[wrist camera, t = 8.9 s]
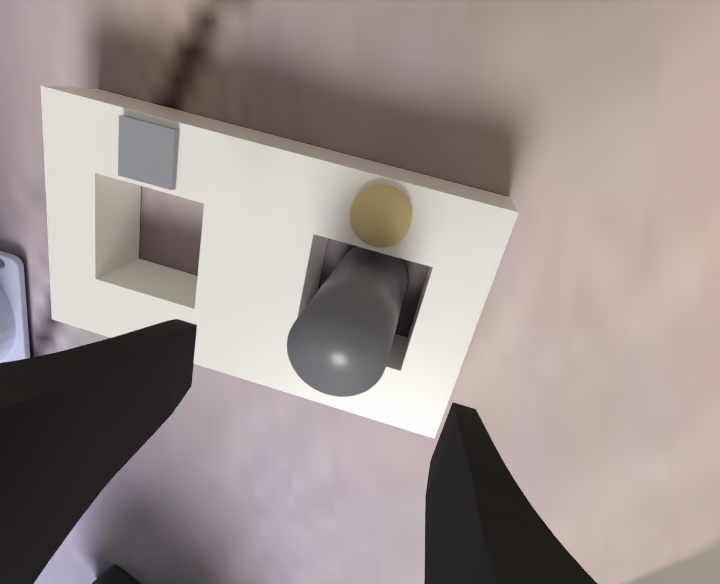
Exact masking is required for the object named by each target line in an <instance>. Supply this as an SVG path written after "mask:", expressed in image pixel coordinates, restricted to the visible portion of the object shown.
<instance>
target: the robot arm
mask: <svg viewBox="0 0 720 584" xmlns="http://www.w3.org/2000/svg"><path fill="white" fill-rule="evenodd" d="M3 261H4V262H3ZM4 263H5V264H4ZM196 331H197V325H196V324H192V323H189V322H186V321H182V320H179V319H173V320H169V321H165V322H162V323H158V324H155V325H151V326H148V327H145V328H142V329H139V330H135V331H132V332H129V333H126V334H122V335H119V336H116V337H113V338H109V339H106V340H102V341H99V342H95V343H91V344H87V345H84V346H80V347H76V348H72V349H69V350H65V351H61V352H56V353H52V354H47V355H43V356H37V357H32V358H30V347H29V333H28V319H27V305H26V291H25V277H24V265H23V262H22V261H21V259H20V258H19V257H17V256H15V255H12V254H9V253H6V252H2V251H0V584H33V583H34V582H35V581H36V579H37V578H38V576H39V575H40V573H41V572H42V570H43V569H44V567H45V566H46V565H47V563H48V562H49V560H50V559H51V557H52V556H53V555H54V553H55V552H56V551H57V549H58V548H59V546H60V545H61V544H62V542H63V541H64V540H65V538H66V537H67V535H68V534H69V533H70V531H71V530H72V529H73V527H74V526H75V524H76V523H77V522H78V521H79V519H80V518H81V517H82V515H83V514H84V513H85V511H86V510H87V509H88V507H89V506H90V505H91V504H92V502H93V501H94V500H95V498H96V497H97V496H98V494H99V493H100V492H101V491H102V489H103V488H104V487H105V486H106V485H107V484H108V482H109V481H110V480H111V479H112V478H113V477H114V476H115V474H116V473H117V472H118V471H119V470H120V469H121V468H122V467H123V466H124V465H125V464H126V463H127V462H128V461H129V460H130V458H131V457H132V456H133V455H134V454H135V453H136V452H137V451H138V450H139V449H140V448H141V447H142V446H143V445H144V444H145V442H146V441H147V440H148V439H149V438H150V437H151V436H152V435H153V434H154V433H155V432H156V431H157V430H158V428H159V427H160V426H161V425H162V424H163V423H164V422H165V421H166V420H167V419H168V417H169V416H170V415H171V414H172V413H173V411H174V410H175V409H176V407H177V406H178V404H179V403H180V402H181V400H182V399H183V397H184V396H185V394H186V393H187V391H188V390H189V388H190V387H191V383H192V373H193V363H194V352H195V342H196ZM425 584H597V583H596V582H595V581H594V580H593V579H592V578H591V577H590V576H589V575H588V574H587V572H586V571H585V570H584V569H583V568H582V567H581V566H580V565H579V564H578V562H577V561H576V560H575V559H574V558H573V557H572V556H571V555H570V553H569V552H568V551H567V550H566V549H565V548H564V547H563V545H562V544H561V543H560V542H559V541H558V539H557V538H556V537H555V536H554V535H553V533H552V532H551V531H550V529H549V528H548V527H547V526H546V524H545V523H544V522H543V520H542V519H541V518H540V516H539V515H538V514H537V513H536V511H535V510H534V508H533V507H532V506H531V504H530V503H529V501H528V500H527V498H526V497H525V495H524V494H523V492H522V491H521V489H520V488H519V486H518V485H517V483H516V482H515V480H514V479H513V477H512V475H511V474H510V472H509V470H508V469H507V467H506V465H505V463H504V462H503V460H502V458H501V456H500V455H499V453H498V451H497V449H496V447H495V446H494V444H493V442H492V440H491V438H490V436H489V434H488V432H487V430H486V428H485V426H484V424H483V422H482V420H481V419H480V417H479V415H478V413H477V411H476V409H473V408H470V407H466V406H463V405H460V404H456V403H452V406H451V408H450V411H449V414H448V416H447V419H446V422H445V424H444V427H443V430H442V432H441V435H440V438H439V440H438V443H437V445H436V448H435V451H434V453H433V456H432V459H431V462H430V469H429V476H428V483H427V491H426V512H425Z"/></svg>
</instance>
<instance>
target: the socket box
mask: <svg viewBox="0 0 720 584" xmlns="http://www.w3.org/2000/svg"><path fill="white" fill-rule="evenodd" d="M41 101H42V122H43V143H44V164H45V185H46V206H47V227H48V248H49V269H50V290H51V310H52V319H53V320H56V321H59V322H63V323H66V324H69V325H72V326H75V327H79V328H82V329H85V330H88V331H91V332H95V333H98V334H101V335H104V336H107V337H111V338H113V337H116V336H119V335H122V334H126V333H129V332H132V331H135V330H139V329H142V328H145V327H148V326H151V325H155V324H158V323H162V322H165V321H169V320H173V319H179V320H182V321H186V322H189V323H192V324H196V325H197V331H196V342H195V352H194V364H197V365H200V366H204V367H207V368H210V369H213V370H216V371H220V372H223V373H226V374H229V375H232V376H236V377H239V378H242V379H245V380H248V381H252V382H255V383H258V384H261V385H264V386H268V387H271V388H274V389H277V390H280V391H284V392H287V393H290V394H293V395H296V396H300V397H303V398H306V399H309V400H312V401H316V402H319V403H322V404H325V405H328V406H332V407H335V408H338V409H341V410H344V411H348V412H351V413H354V414H357V415H360V416H364V417H367V418H370V419H373V420H377V421H380V422H383V423H386V424H389V425H393V426H396V427H399V428H402V429H405V430H409V431H412V432H415V433H418V434H421V435H425V436H428V437H431V438H434V439H435V436H436V433H437V431H438V428H439V425H440V422H441V420H442V417H443V414H444V412H445V409H446V406H447V404H448V401H449V398H450V396H451V393H452V390H453V388H454V385H455V382H456V379H457V377H458V374H459V371H460V369H461V366H462V363H463V361H464V358H465V355H466V353H467V350H468V347H469V345H470V342H471V339H472V336H473V334H474V331H475V328H476V326H477V323H478V320H479V318H480V315H481V312H482V310H483V307H484V304H485V302H486V299H487V296H488V293H489V291H490V288H491V285H492V283H493V280H494V277H495V275H496V272H497V269H498V267H499V264H500V261H501V259H502V256H503V253H504V250H505V248H506V245H507V242H508V240H509V237H510V234H511V232H512V229H513V226H514V224H515V221H516V218H517V216H518V213H519V212H518V210H517V209H516V207H515V206H514V204H513V202H512V201H511V199H510V197H508V196H504V195H500V194H496V193H492V192H489V191H485V190H481V189H477V188H473V187H470V186H466V185H462V184H458V183H454V182H451V181H447V180H443V179H439V178H435V177H432V176H428V175H424V174H420V173H416V172H413V171H409V170H405V169H401V168H397V167H393V166H390V165H386V164H382V163H378V162H374V161H371V160H367V159H363V158H359V157H355V156H352V155H348V154H344V153H340V152H336V151H333V150H329V149H325V148H321V147H317V146H313V145H310V144H306V143H302V142H298V141H294V140H291V139H287V138H283V137H279V136H275V135H272V134H268V133H264V132H260V131H256V130H253V129H249V128H245V127H241V126H237V125H234V124H230V123H226V122H222V121H218V120H214V119H211V118H207V117H203V116H199V115H195V114H192V113H188V112H184V111H180V110H176V109H173V108H169V107H165V106H161V105H157V104H154V103H150V102H146V101H142V100H138V99H135V98H131V97H127V96H123V95H119V94H115V93H112V92H108V91H104V90H100V89H93V88H74V87H56V86H41ZM141 186H144V187H147V188H151V189H154V190H158V191H162V192H165V193H169V194H172V195H176V196H179V197H183V198H187V199H190V200H194V201H197V202H201V203H204V212H203V223H202V234H201V245H200V256H199V267H198V276H197V275H193V274H190V273H186V272H183V271H180V270H176V269H173V268H169V267H166V266H163V265H159V264H156V263H152V262H149V261H146V260H142V259H139V236H140V208H141ZM328 238H329V239H333V240H337V241H340V242H344V243H347V244H351V245H355V246H358V247H362V248H365V249H369V250H372V251H376V252H380V253H383V254H387V255H390V256H394V257H397V258H401V259H405V260H408V261H412V262H415V263H419V264H422V265H426V266H429V270H428V273H427V276H426V279H425V283H424V286H423V289H422V292H421V296H420V299H419V302H418V305H417V309H416V312H415V315H414V318H413V322H412V325H411V328H410V331H409V335H408V338H407V337H404V336H400V335H397V334H394V338H393V342H392V346H391V350H390V353H389V357H388V361H387V365H386V368H385V371H384V373H383V375H382V377H381V378H380V380H379V381H378V382H377V383H376V384H375V385H374V386H373V387H372V388H371V389H369V390H367V391H366V392H364V393H361V394H358V395H355V396H348V397H338V396H331V395H327V394H324V393H321V392H319V391H317V390H315V389H313V388H312V387H310V386H309V385H308V384H306V383H305V382H304V381H303V380H302V379H301V378H300V377H299V376H298V375H297V373H296V372H295V370H294V369H293V367H292V365H291V363H290V360H289V357H288V353H287V338H288V334H289V331H290V329H291V327H292V325H293V324H294V322H295V321H296V320H297V318H298V317H299V316H300V314H301V313H302V312H303V310H304V309H305V308H306V306H307V305H308V304H309V302H310V301H311V300H312V298H313V297H314V296H315V294H316V293H317V290H318V286H319V281H320V276H321V271H322V266H323V261H324V257H325V252H326V247H327V242H328Z"/></svg>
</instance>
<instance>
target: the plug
mask: <svg viewBox="0 0 720 584" xmlns="http://www.w3.org/2000/svg"><path fill="white" fill-rule="evenodd" d="M407 285H408V272H407V268H406V266H405V264H404V262H403V260H402V259H401V258H397V257H394V256H390V255H387V254H383V253H380V252H376V251H372V250H369V249H365V248H362V247H358V246H356V247H354V248H352V249H351V250H350V251H348V252H347V253H346V254H345V256H344V257H343V258H342V259H341V261H340V262H339V263H338V265H337V266H336V267H335V269H334V270H333V271H332V273H331V274H330V275H329V277H328V278H327V279H326V281H325V282H324V284H323V285H322V286H321V288H320V289H319V290H318V292H317V293H316V294H315V296H314V297H313V298H312V300H311V301H310V302H309V304H308V305H307V306H306V308H305V309H304V310H303V312H302V313H301V314H300V316H299V317H298V318H297V320H296V321H295V322H294V324H293V325H292V327H291V329H290V331H289V334H288V338H287V353H288V357H289V360H290V363H291V365H292V367H293V369H294V370H295V372H296V373H297V375H298V376H299V377H300V378H301V379H302V380H303V381H304V382H305V383H306V384H308V385H309V386H310V387H312V388H313V389H315V390H317V391H319V392H321V393H324V394H327V395H331V396H338V397H348V396H355V395H358V394H361V393H364V392H366V391H367V390H369V389H371V388H372V387H373V386H374V385H375V384H376V383H377V382H378V381H379V380H380V378H381V377H382V375H383V373H384V371H385V368H386V365H387V361H388V357H389V353H390V350H391V346H392V342H393V338H394V334H395V331H396V327H397V323H398V319H399V316H400V312H401V308H402V304H403V301H404V297H405V293H406V289H407Z"/></svg>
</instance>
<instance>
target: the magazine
mask: <svg viewBox="0 0 720 584" xmlns="http://www.w3.org/2000/svg"><path fill="white" fill-rule="evenodd" d="M92 584H138V583H137V582H136V581H135V580H133V579H132V578H131V577H130V576H128V575H127V574H126V573H125V572H123V571H122V570H121V569H120V568H118V567H116V566H113V567H111V568H110V569H109V570H107V571H106V572H105V573H104V574H102V575H101V576H100V577H99V578H97V579H96V580H95V581H94V582H93V583H92Z"/></svg>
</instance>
